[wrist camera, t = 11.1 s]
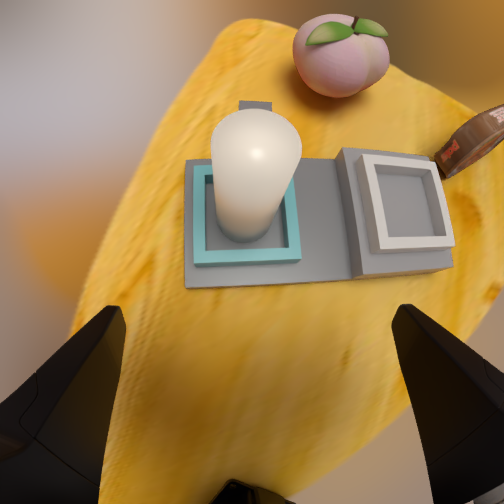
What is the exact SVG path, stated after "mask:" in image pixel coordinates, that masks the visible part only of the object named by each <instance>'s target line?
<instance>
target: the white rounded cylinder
mask: <svg viewBox="0 0 504 504" xmlns="http://www.w3.org/2000/svg"><path fill="white" fill-rule="evenodd" d="M301 153H302V144H301V140H300V136H299V134H298V132H297V131H296V129H295V128H294V127H293V125H292V124H291V123H290V122H289V121H288V120H286V119H285V118H284V117H282V116H280V115H278V114H276V113H274V112H272V102H259V101H239V111H236V112H234V113H232V114H230V115H228V116H226V117H225V118H224V119H223V120H221V121H220V122H219V124H218V125H217V126H216V128H215V129H214V131H213V134H212V137H211V156H212V169H213V181H214V193H215V204H216V215H217V223H218V226H219V228H220V230H221V232H222V233H223V234H224V235H225V236H226V237H227V238H229V239H230V240H232V241H234V242H238V243H251V242H255V241H257V240H259V239H260V238H262V237H263V236H264V235H265V234H266V232H267V231H268V229H269V227H270V225H271V223H272V221H273V218H274V216H275V214H276V212H277V210H278V207H279V205H280V203H281V201H282V198H283V196H284V194H285V192H286V190H287V187H288V185H289V183H290V181H291V179H292V176H293V174H294V172H295V170H296V167H297V165H298V163H299V161H300V158H301Z"/></svg>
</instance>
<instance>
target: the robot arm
mask: <svg viewBox="0 0 504 504" xmlns="http://www.w3.org/2000/svg"><path fill="white" fill-rule="evenodd" d="M391 327H392V332H393V337H394V341H395V345H396V350H397V355H398V359H399V363H400V367H401V371H402V374H403V377H404V381H405V384H406V387H407V390H408V394H409V397H410V401H411V404H412V408H413V412H414V415H415V419H416V423H417V426H418V431H419V434H420V439H421V443H422V447H423V451H424V456H425V460H426V465H427V470H428V475H429V480H430V486H431V491H432V497H433V503H434V504H465V503H467V502H470V501H472V500H473V503H474V504H504V373H502V372H501V371H499V370H498V369H497V368H496V367H494V366H493V365H491V364H490V363H489V362H488V361H487V360H485V359H483V357H482V356H480V355H479V354H478V353H476V352H475V351H474V350H472V349H471V348H470V347H469V346H467V345H466V344H465V343H463V342H462V341H461V340H459V339H458V338H457V337H456V336H454V335H453V334H452V333H450V332H449V331H448V330H446V329H445V328H444V327H442V326H441V325H439V324H438V323H437V322H435V321H434V320H433V319H431V318H430V317H429V316H427V315H426V314H424V313H423V312H422V311H420V310H419V309H418V308H416V307H415V306H413V305H412V304H402V305H400V306H399V307H398V309H397V312H396V314H395V316H394V318H393V320H392V325H391ZM125 335H126V324H125V321H124V317H123V314H122V310H121V308H120V307H119V306H115V305H107V306H106V307H104V308H103V309H102V310H101V311H100V312H99V313H98V314H97V315H95V316H94V317H93V318H92V319H91V320H90V321H89V322H88V323H87V324H86V325H84V326H83V327H82V328H81V329H80V330H79V331H78V332H77V333H76V334H75V335H73V336H72V337H71V338H70V339H69V340H68V341H67V342H66V343H65V344H64V345H63V346H62V347H61V348H60V349H58V350H57V351H56V352H55V353H54V354H53V355H52V356H51V357H50V358H49V359H48V360H47V361H46V362H45V363H44V364H43V365H42V366H41V367H40V368H39V369H38V370H37V371H36V373H33V375H31V376H30V377H29V378H28V379H27V380H26V381H25V382H24V383H23V384H22V385H21V386H20V387H19V388H18V389H17V390H16V391H14V392H13V393H12V394H11V395H10V396H9V397H8V398H6V399H5V400H4V401H3V402H1V403H0V504H98V499H99V490H100V488H99V487H100V481H101V474H102V467H103V460H104V454H105V448H106V442H107V436H108V431H109V425H110V420H111V415H112V410H113V405H114V400H115V396H116V391H117V387H118V382H119V378H120V373H121V366H122V357H123V349H124V342H125ZM231 484H235V486H230V485H231ZM209 504H296V503H294V502H291V501H288V500H285V499H284V498H283V497H282V496H280V495H277V494H274V493H271V492H269V491H266V490H264V489H261V488H259V487H251V486H249V485H247V484H244V483H242V482H240V481H237V480H235V479H231V480H228V481H227V482H226V484H225V485H224V486H223V487H222V489H221V490H220V491H219V492H218V494H217V495H216V496H215V497H214V498H213V500H212V501H211V502H210V503H209Z"/></svg>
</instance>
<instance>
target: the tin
mask: <svg viewBox="0 0 504 504" xmlns="http://www.w3.org/2000/svg"><path fill="white" fill-rule="evenodd" d="M503 140H504V104H503V105H500V106H497V107H494V108H492V109H489V110H487V111H484V112H482V113H480V114H478V115H476V116H474V117H473V118H471V119H470V120H468V121H467V122H466V123H465V124H463V125H462V126H461V127H460V128H459V129H458V130H457V131H456V132H455V133H454V134H453V135H452V136H451V138H450V140H449V141H448V142H447V143H446V144H445V145H444V146H443V147H442V148H441V149H440V151H438V152H436V154H435V156H434V158H435V160H436V162H437V163H438V165H439V166H440V168H441V169H442V171H443V172H444V174H445V175H446V178H450V177H452V176H454V175H455V174H457V173H458V172H460V171H462V170H463V169H465V168H466V167H468V166H469V165H471V164H472V163H474V162H476V161H477V160H479V159H480V158H482V157H483V156H485V155H486V154H487V153H489V152H490V151H491V150H492V149H494V148H495V147H496V146H497V145H498V144H499V143H500V142H502V141H503Z"/></svg>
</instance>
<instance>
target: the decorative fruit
mask: <svg viewBox="0 0 504 504" xmlns="http://www.w3.org/2000/svg"><path fill="white" fill-rule="evenodd" d="M381 36H382V37H388V33H387V32H386V30H385V29H384V28H383V27H382V26H381V25H379V24H378V23H376V22H374V21H371V20H368V19H359V17H358V16H355V18H353V17H349V16H346V15H341V14H328V15H322V16H319V17H316V18H314V19H311V20H309V21H307V22H306V23H305V24H303V26H302V27H301V28H300V29H299V30H298V32H297V33H296V35H295V38H294V41H293V58H294V62H295V65H296V68H297V70H298V73H299V75H300V77H301V78H302V80H303V81H304V82H305V84H306V85H307V86H308V87H310V88H311V89H312V90H314V91H315V92H317V93H319V94H322V95H325V96H329V97H334V98H342V97H348V96H351V95H354V94H355V93H357V92H358V91H361V90H364V89H367V88H368V87H370V86H371V85H373V84H374V83H376V82H377V81H379V80H380V79H381V78H382V77H383V76H384V74H385V73H386V71H387V69H388V67H389V52H388V48H387V46H386V44H385V42H384V40H383V39H382V38H381Z"/></svg>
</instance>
